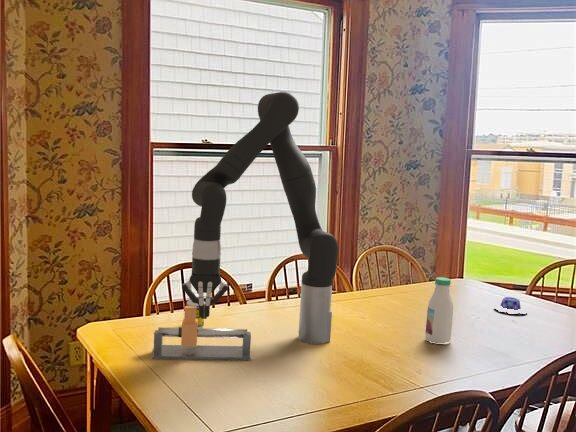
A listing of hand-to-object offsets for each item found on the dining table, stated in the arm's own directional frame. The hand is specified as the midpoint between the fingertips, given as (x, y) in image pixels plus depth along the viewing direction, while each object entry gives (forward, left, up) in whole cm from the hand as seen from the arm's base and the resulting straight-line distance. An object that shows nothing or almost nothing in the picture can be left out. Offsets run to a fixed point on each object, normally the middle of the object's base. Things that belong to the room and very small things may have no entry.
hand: (203, 318), depth 168 cm
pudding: (-113, -51, -11) cm, 125 cm away
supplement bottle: (+3, -24, -10) cm, 26 cm away
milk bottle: (-72, -14, -10) cm, 74 cm away
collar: (+4, 0, -7) cm, 8 cm away
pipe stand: (0, 0, -10) cm, 10 cm away
